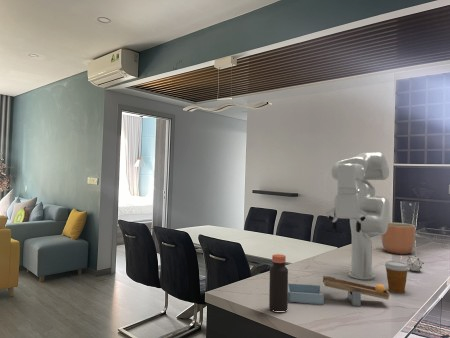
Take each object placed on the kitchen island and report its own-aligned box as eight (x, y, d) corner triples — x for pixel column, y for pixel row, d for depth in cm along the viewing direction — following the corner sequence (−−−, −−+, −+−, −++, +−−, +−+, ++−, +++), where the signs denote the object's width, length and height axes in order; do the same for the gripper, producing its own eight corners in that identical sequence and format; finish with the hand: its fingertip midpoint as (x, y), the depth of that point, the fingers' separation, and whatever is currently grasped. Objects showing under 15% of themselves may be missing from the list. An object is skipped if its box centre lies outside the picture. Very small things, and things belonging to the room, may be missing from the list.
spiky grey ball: (411, 278, 183) (398, 262, 184) (415, 270, 189) (403, 255, 190) (426, 273, 177) (413, 257, 178) (430, 265, 183) (417, 249, 184)
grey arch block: (347, 297, 141) (347, 283, 141) (355, 298, 141) (355, 284, 141) (352, 305, 132) (352, 291, 132) (360, 306, 131) (360, 291, 132)
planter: (421, 256, 220) (421, 226, 221) (389, 255, 221) (389, 226, 221) (405, 249, 241) (405, 222, 241) (375, 249, 241) (376, 222, 242)
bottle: (285, 306, 130) (286, 253, 131) (289, 313, 124) (289, 257, 124) (267, 306, 130) (268, 253, 131) (270, 313, 123) (271, 257, 124)
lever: (320, 279, 148) (321, 270, 148) (377, 291, 144) (379, 282, 144) (324, 288, 135) (326, 279, 135) (387, 302, 131) (389, 292, 131)
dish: (287, 292, 146) (287, 283, 146) (319, 294, 144) (319, 285, 144) (288, 302, 134) (288, 292, 134) (323, 304, 132) (323, 294, 132)
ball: (373, 290, 137) (375, 281, 137) (382, 292, 136) (384, 284, 136) (375, 293, 133) (377, 284, 133) (385, 296, 133) (387, 287, 133)
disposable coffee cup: (387, 285, 158) (387, 259, 158) (410, 290, 152) (410, 263, 152) (382, 291, 150) (382, 263, 151) (406, 296, 144) (406, 267, 144)
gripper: (364, 192, 151) (364, 230, 150) (324, 191, 153) (324, 229, 152) (369, 192, 143) (369, 233, 143) (327, 192, 145) (327, 232, 145)
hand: (346, 231), depth 148 cm, fingers open, 9 cm apart
